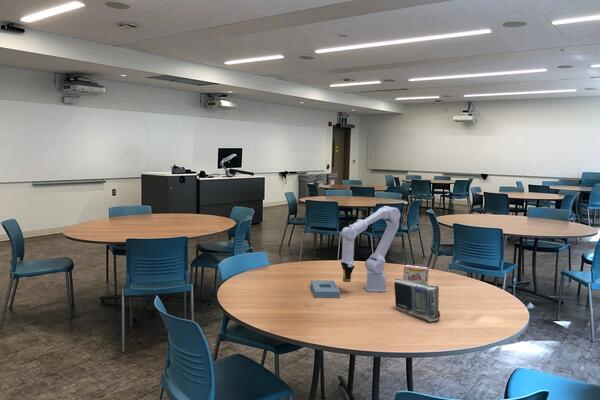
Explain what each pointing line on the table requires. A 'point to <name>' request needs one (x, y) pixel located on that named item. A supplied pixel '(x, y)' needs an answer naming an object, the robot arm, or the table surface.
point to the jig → (325, 289)
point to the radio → (417, 299)
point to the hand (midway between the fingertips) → (346, 277)
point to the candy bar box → (416, 274)
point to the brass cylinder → (345, 278)
